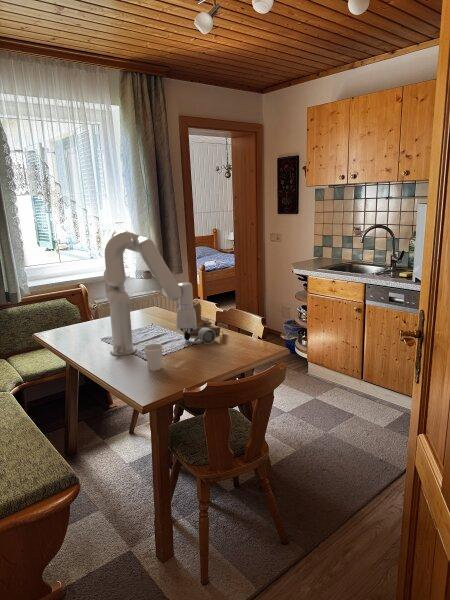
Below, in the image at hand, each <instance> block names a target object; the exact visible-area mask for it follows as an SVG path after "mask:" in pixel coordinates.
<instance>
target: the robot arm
mask: <svg viewBox="0 0 450 600" xmlns="http://www.w3.org/2000/svg"><path fill="white" fill-rule="evenodd" d="M126 250H128V251H131V252H135V253H139V254H140V257H141V258H142V260H143V262H144V263H145V265H146V266H147V269H148V270H149V273H151V274H152V276H153V277H154V278H155V279H156V280H157V281H158V282H159V285H161V287H162V288H161V293H162V295H163V296H164V297H166V298H167V299H169V300H171V301H173V302H176V301H178V302H177V303H176V304H175V308H177V310H176V330H178V331H181V332H182V333H183V339H185V341H187V342H188V341H189V340H190V339H191V337H190V332H191V331H192V330H195V329H197V328H198V327H197V326H196V313H195V309H194V308H193V301H194V296H193V295H194V294H193V293H194V292H193V284H192V283H191V282H183V281H182V282H179V283H178V281H177V280H176V278H175V276H174V275H173V273H172V271H170V268H169V267H168V265H167V264H166V262H165V260H164V259H163V257H162V255H161V252H160V251H159V250H158V247H157V246H156V244H155V242H154V241H153V240H152V239H151V238H149V237H146V236H142V235H139V234H136V233H133V232H130V231H128V230H125V229H121V228H120V229H116V230H114V231H113V232H112V234H111V237H110V239H109V240H108V241H107V243H106V245H105V248H104V263H105V270H104V271H103V283H104V290H105V296H106V299H107V301H108V303H109V315H110V318H109V319H110V326H111V337H112V348H111V349H110V350H109V353H110V354H111V355H112V356H127V355H132V354H133V353H135V352H136V351H137V347H136V346H135V345H134V344H133V333H132V332H133V331H132V318H131V317H132V316H131V299H130V295H129V294H128V292H127V291H126V288H125V287H126V286H125V282H126V279H127V277H126V276H127V275H126V269H125V264H124V263H125V262H124V253H125V251H126ZM187 328H188V332H187Z"/></svg>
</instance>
